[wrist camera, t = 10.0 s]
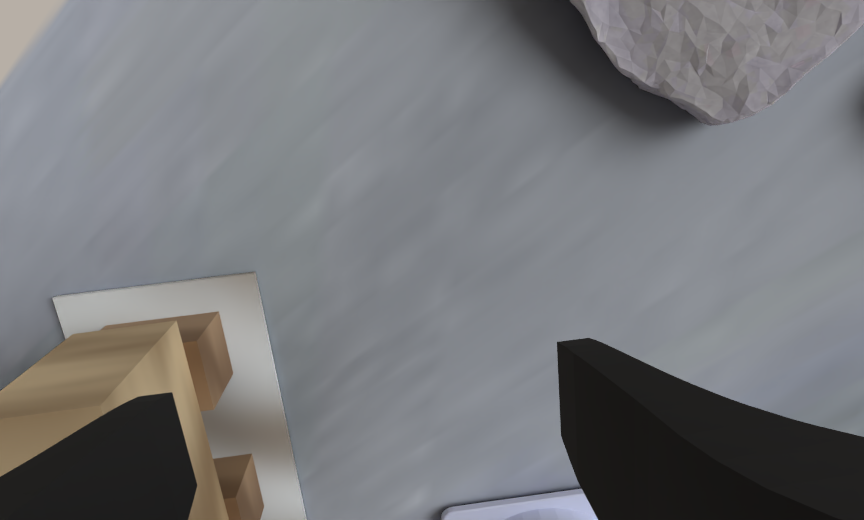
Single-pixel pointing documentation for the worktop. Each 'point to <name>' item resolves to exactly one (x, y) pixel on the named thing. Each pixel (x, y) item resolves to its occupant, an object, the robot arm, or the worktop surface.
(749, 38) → the stone block
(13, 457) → the lintel
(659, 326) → the worktop surface
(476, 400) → the worktop surface
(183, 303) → the base with blocks
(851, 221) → the worktop surface
